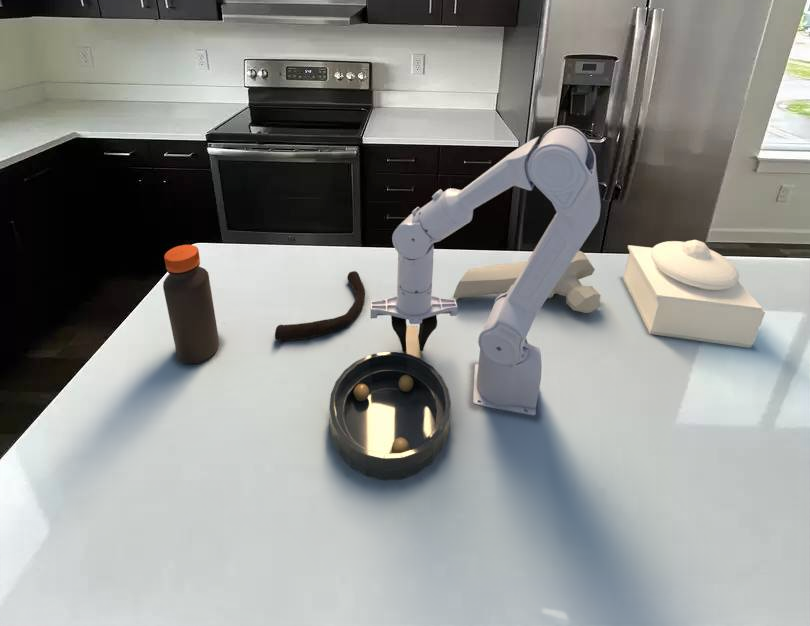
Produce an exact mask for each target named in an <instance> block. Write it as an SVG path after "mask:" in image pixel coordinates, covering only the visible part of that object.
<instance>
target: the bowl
mask: <svg viewBox="0 0 810 626" xmlns="http://www.w3.org/2000/svg"><path fill="white" fill-rule="evenodd" d="M404 375H409V376H410V377H411V378H412V379H413V383H414V385H413V388H412V389H411V390H410V391H409V392H403V391H402V390H401V389H400V388H399V379H400V378H401V377H402V376H404ZM358 384H365V385H366V386H367V387H368V389H369V396H368V398H367V399H366V400H364V401H358V400H356V399H355V397H354V389H355V387H356V386H357V385H358ZM451 404H452V402H451V396H450V392H449V388H448V386H447V384H446V382H445V380H444V378H443V376H442V375H441V374H440V373H439V372H438V371H437V370H436V369H435V368H434V367H433V366H432V364H429V363H428V362H426V361H425V360H424V359H423V358H421V359H420V358H418V357H415V356H413V355H410V354H406V353H405V352H399V351H382V352H381V351H380V352H377V353H372V354H368V355H366V356H364V357H362V358H360V359H358V360H356V361H354V362H353V363H352V364H351V365H349V366H348V367H347V368H345V369H344V370H343V372H341V374H340V375H339V377H338V378H337V379H336V381H335V383H334V385H333V387H332V390H331V393H330V399H329V406H328V407H329V411H328V412H329V428H330V429H329V430H330V435H331V439H332V443H333V445H334V447H335V449H336V451H337V453H338V455H339V456H340V458H341V459H342V460H343V461H344V462H345V463H346V464H347V465H348V466H349V467H350V468H351V469H352V470H354V471H355V472H358V473H359V474H362V475H363V476H365V477H368V478H373V479H377V480H381V481H395V480H404V479H406V478H409V477H411V476H415V475H417V474H419V473H420V472H422V471H423V470H425V469H427V468H428V467H429V466H431V465H432V464H433V463H434V461H435V460H436V459H437V458H438V456H439V455H440V454H441V453H442V451H443V449H444V447H445V445H446V442H447V440H448V436H449V429H450V417H451V407H452V405H451ZM399 437H402V438H405V439H406V440H407V441H408V443H409V450H408V451H405V452H402V453H393V452H392V444H393V442H394V440H395V439H397V438H399Z"/></svg>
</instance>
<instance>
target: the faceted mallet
mask: <svg viewBox="0 0 810 626" xmlns="http://www.w3.org/2000/svg"><path fill="white" fill-rule="evenodd" d="M526 263H527V261H519V262H512V263H501V264H492V265H484V266H478V267H472V268H469V269H468V270H467V271H466V272H465V273H464V274H463V276H462V277H461V279H459V281H458V283H457V285H456V287H455V289H454V292H453V299H457V298H468V297H477V296H486V295H487V296H489V295H498V294H504V293H506V292H507V291H508V290H509V288H510V287H511V285H513V284H514V283H515V281H516V279H517V278H518V276H519V274H520V273H521V271H522V269H523V268H524V266H525V264H526ZM595 271H596V269H595V267H594V266H593V265H592V262H591V261H590V260H589V259H588V257H587V255H586V254H585V252H584V251H581V250H579V251H578V252H577V254H576V255H575V257H574V258H573V260H572V261H571V263H570V264H569V266H568V267H567V269H566V270H565V272H564V273H563V275H562V276H561V278H560V279H559V281H558V282H557V284H556V285H555V287H554V288H553V290H552V291H551V293H550V294H549V296H548V297H547V299H552V298H553V297H554V295H555V294H557V295H560V296H565V304H566V305H568V307H570V308H571V309H572V311H576V312H579V313H585V314H590V313H592V312H594V311H595V310H597V309H598V308H599V306H600V302H601V301H600V300H601V294H600V293H599V292H598V291H597V290H596V289H595V288H594V286H591V285H583V284H582V283H581V282H580V280H581V279H584V278H586V277H589V276H592V275H593V274H594V272H595Z"/></svg>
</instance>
